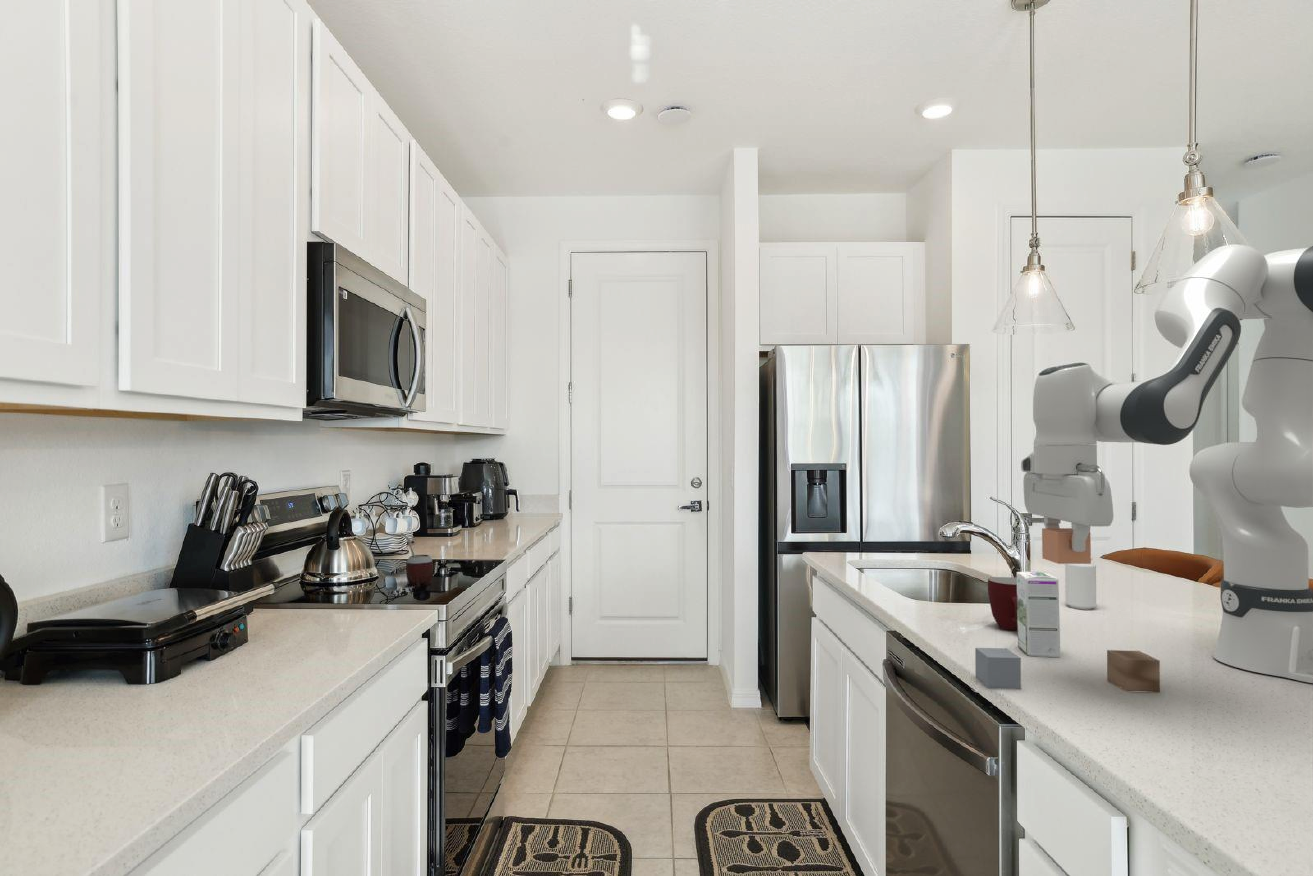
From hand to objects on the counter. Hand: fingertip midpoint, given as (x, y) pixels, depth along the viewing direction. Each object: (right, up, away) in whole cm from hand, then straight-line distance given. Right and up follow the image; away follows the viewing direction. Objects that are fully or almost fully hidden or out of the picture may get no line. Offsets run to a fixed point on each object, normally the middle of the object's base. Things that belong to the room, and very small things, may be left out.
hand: (1066, 547), depth 110 cm
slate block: (-11, -22, 0) cm, 25 cm away
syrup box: (+4, -22, +16) cm, 27 cm away
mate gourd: (-132, -23, +75) cm, 154 cm away
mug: (+7, -22, +30) cm, 38 cm away
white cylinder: (+34, -22, +50) cm, 64 cm away
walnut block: (+9, -22, -2) cm, 24 cm away
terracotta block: (0, -2, 0) cm, 2 cm away
